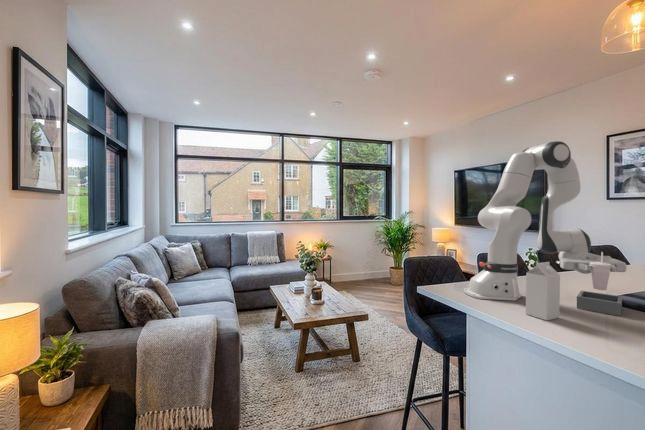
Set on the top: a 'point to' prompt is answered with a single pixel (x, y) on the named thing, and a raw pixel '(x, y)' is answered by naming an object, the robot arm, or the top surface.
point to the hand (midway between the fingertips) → (601, 268)
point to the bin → (599, 302)
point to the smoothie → (600, 274)
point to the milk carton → (543, 292)
